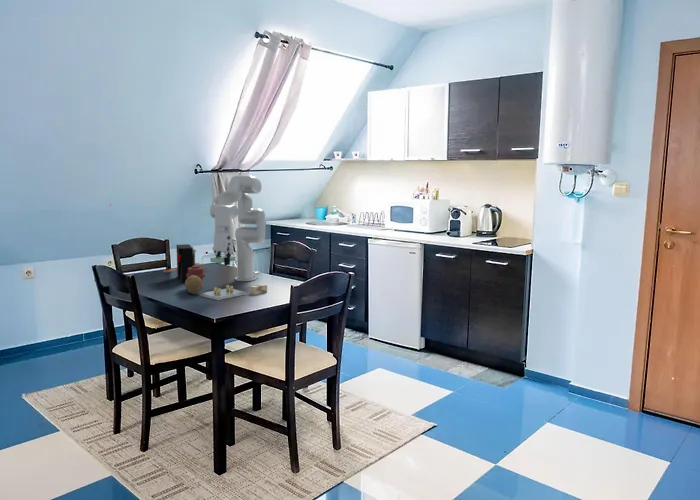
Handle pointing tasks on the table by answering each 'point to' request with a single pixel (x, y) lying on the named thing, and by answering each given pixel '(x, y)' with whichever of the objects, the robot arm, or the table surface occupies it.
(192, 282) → the natural sponge
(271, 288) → the table surface
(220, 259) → the board
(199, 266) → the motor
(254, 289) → the oak block
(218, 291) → the plate
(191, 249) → the electrical component
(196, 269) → the mechanical component
